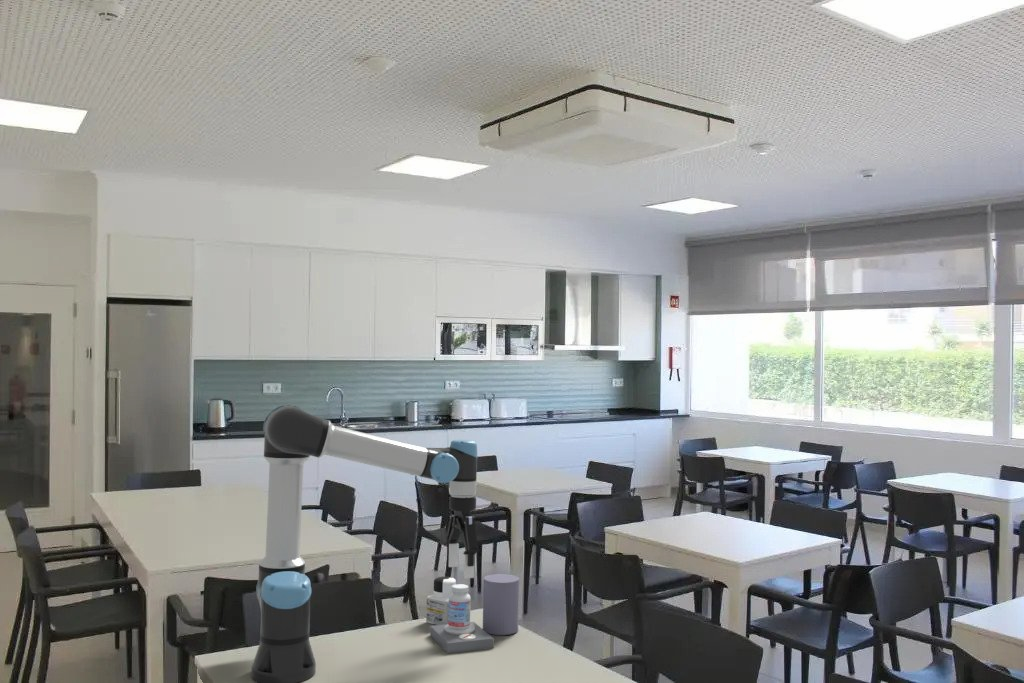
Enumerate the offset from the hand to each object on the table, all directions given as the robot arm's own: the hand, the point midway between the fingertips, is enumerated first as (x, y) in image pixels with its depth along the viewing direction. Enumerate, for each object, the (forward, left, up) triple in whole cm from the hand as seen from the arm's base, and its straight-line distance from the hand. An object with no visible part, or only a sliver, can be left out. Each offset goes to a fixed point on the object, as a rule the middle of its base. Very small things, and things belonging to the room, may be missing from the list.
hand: (461, 572), depth 236 cm
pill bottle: (0, 0, -15) cm, 15 cm away
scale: (0, -2, -19) cm, 19 cm away
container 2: (+14, +4, -19) cm, 24 cm away
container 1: (+1, +17, -19) cm, 26 cm away
